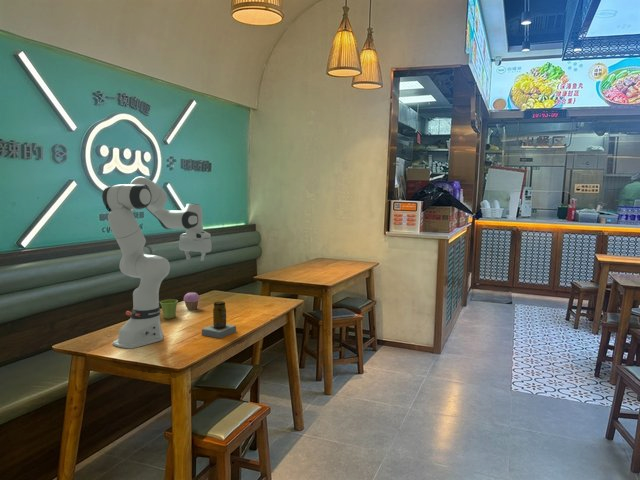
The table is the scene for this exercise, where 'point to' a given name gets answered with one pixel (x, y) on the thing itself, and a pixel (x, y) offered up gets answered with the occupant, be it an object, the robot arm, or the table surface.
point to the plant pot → (169, 308)
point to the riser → (218, 331)
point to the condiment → (219, 316)
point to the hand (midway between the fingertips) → (195, 259)
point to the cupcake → (191, 300)
